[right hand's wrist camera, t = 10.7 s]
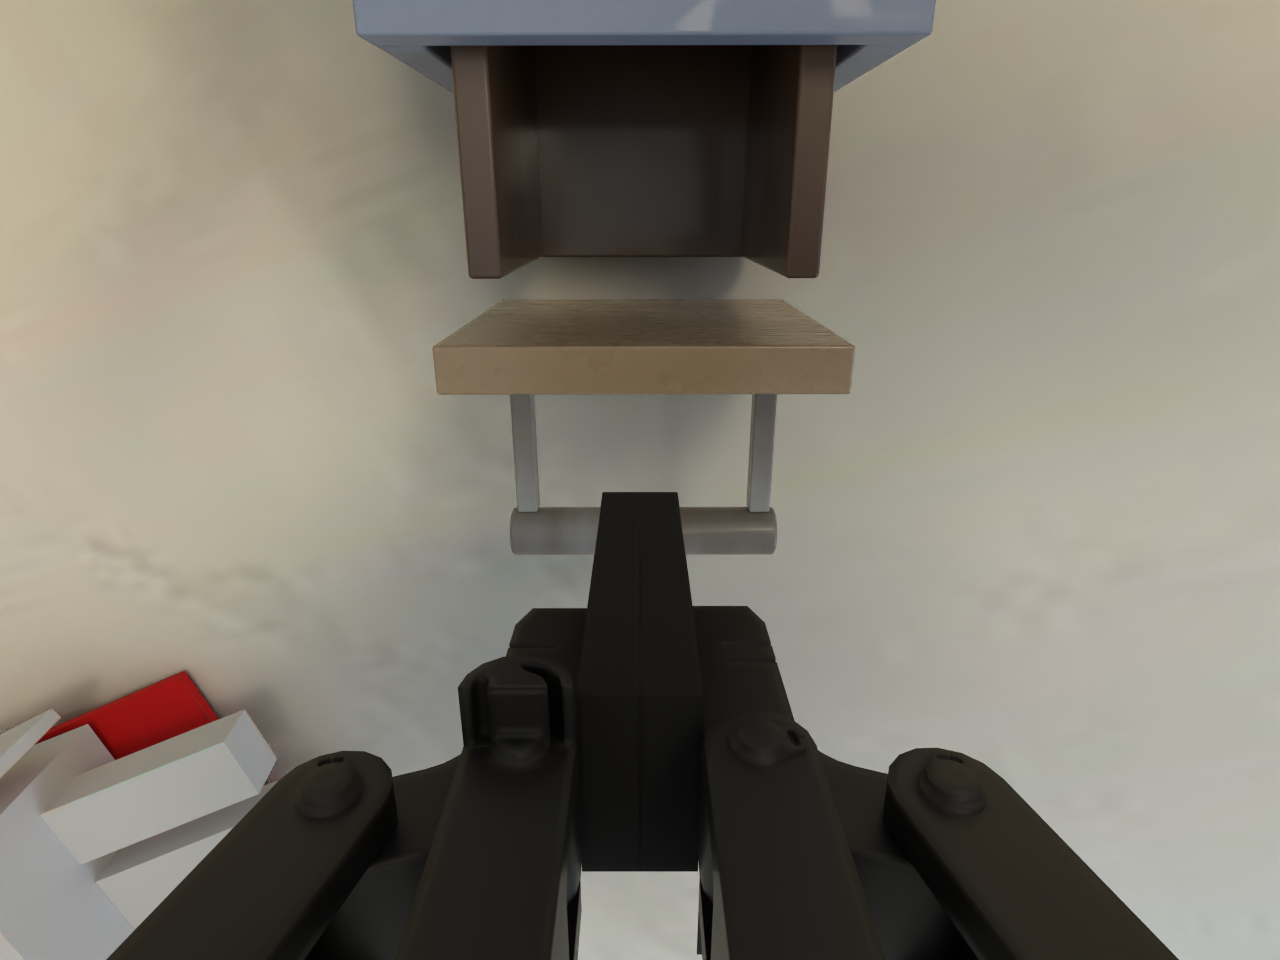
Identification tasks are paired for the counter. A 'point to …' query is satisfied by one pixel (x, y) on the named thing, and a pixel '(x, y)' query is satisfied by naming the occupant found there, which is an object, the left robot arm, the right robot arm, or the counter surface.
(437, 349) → the drawer
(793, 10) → the cabinet
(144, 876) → the toy
